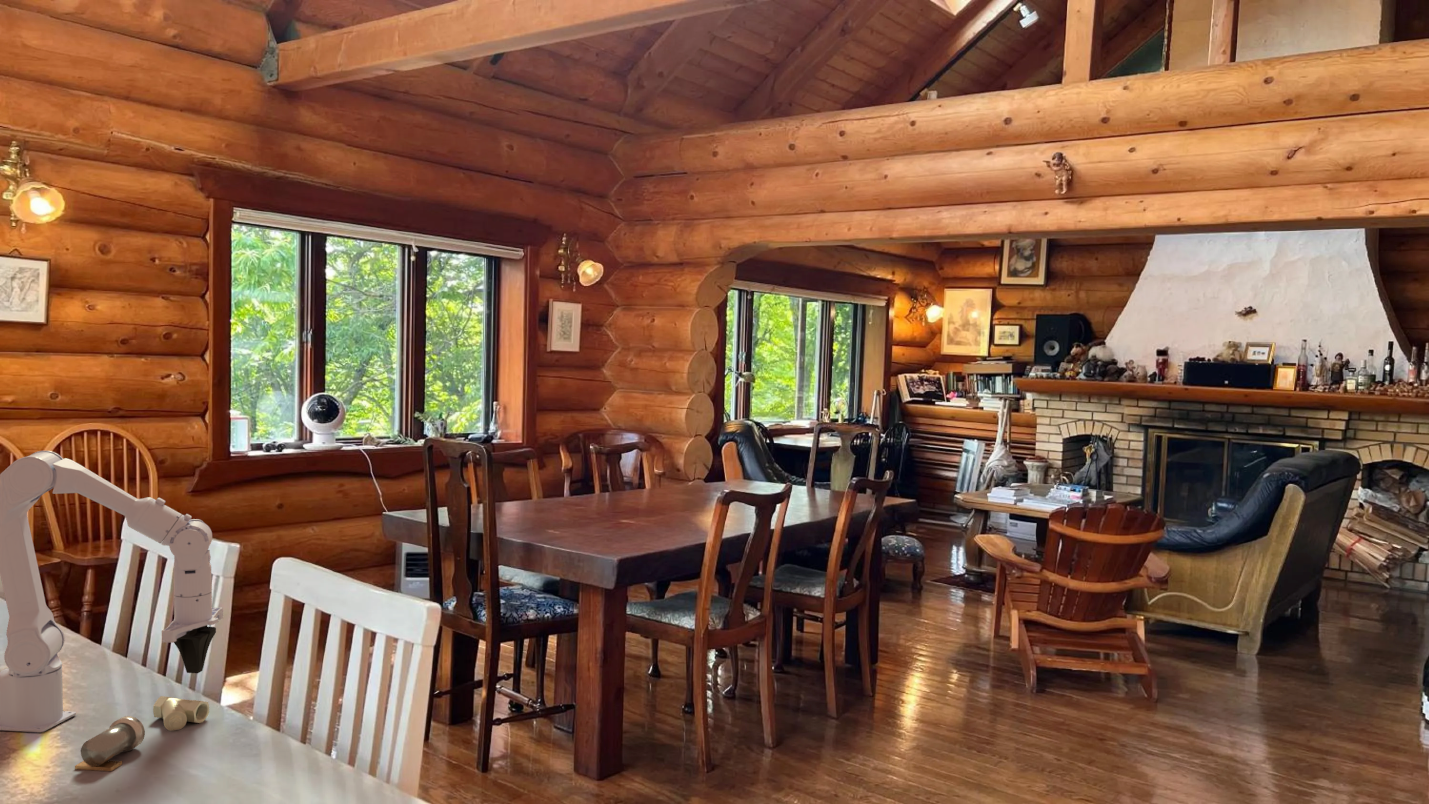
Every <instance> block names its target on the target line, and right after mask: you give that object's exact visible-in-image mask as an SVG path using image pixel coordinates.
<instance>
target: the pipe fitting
mask: <svg viewBox="0 0 1429 804" xmlns="http://www.w3.org/2000/svg"><path fill="white" fill-rule="evenodd" d="M152 707H153V709H152V712H153V713H152V714H153V716H154V718H159V719H162V720H163V725H164V728H165V729H166V730H167V731H169V732H170V731H171V732H172V731H176V730H181V729H183V728H184V727H185V726H186V724H187V722H189V723H197V724H198V723H199V724H202V723H203V722H205V720H207V719H208V717H209V713H210V704H209V701H204V700H199V699H198V700H197V699H196V700H195V699H184V698H175V697H171V696H166V695H165V696H164V695H160V696H159V697H158V698H157V699H156V701H155V702H154V704H153V706H152Z"/></svg>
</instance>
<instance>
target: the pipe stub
mask: <svg viewBox="0 0 1429 804" xmlns="http://www.w3.org/2000/svg"><path fill="white" fill-rule="evenodd" d="M145 730H146V729H145V727H144V724H143V723H142V721H141V720H139V719H138V718H136V717H134V716H131V715H127V716H126V715H125V716H122V717H120V718H118V719H117V720H115V721H113V722H112V723H111V724H110V726H109V728H107V729H106V730H104V731H102V732H101V733H98V734H97V735H95V736H92V738H90V739H87V741H85V742H83V744H82V746H81V747H80V755H81V758H82V760H83V761H81V762H79V763H77V764H76V765H74V770H82V771H85V770H86V771H101V772H102V771H104V772H113V771H114V770H116V769H117V768H118V767H121V766H123V761H122V760H111V759H113V758H114V757H116V756H118V755H119V754H121V753H122V752H129V751H132V750H133V749H135V748H137V747H138V746H140V745H141V744H142V743H143V742H144V739H145V736H146V735H145V734H146V731H145Z"/></svg>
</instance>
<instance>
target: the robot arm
mask: <svg viewBox="0 0 1429 804" xmlns="http://www.w3.org/2000/svg"><path fill="white" fill-rule="evenodd" d="M52 489H53V490H52ZM51 490H52V494H55V495H56V494H58V495H59V494H79V495H81V496H83V497H85V498H87V499H89V500H91V501H94V502H95V503H97V504H100V505H102V506H104V507H106V508H108V509H110V510H112V511H114V512H115V513H116V512H117V513H118V514H120V515H123V516H124V517H125V519H126V522H127V526H128V527H129V529H132V530H134V531H135V532H137V533H140V534H141V535H144V536H145V537H147V538H149V539H151V540H153V541H155V542H157V543H159V544H160V545H162V546H167V547H168V548H169V549H170V552H171V554H172V556H173V559H174V567H173V570H172V571H173V573H172V574H173V613H174V614H173V615H174V616H173V617H174V619H173V620H172V621H171V622H170V623H169V625H168V626H167V627H166V628H164V629H163V630H161V642H162V643H172V644H173V643H174V645H175V646H176V648H177V649H178V651H179V654H180V656H181V659H182V661H183V665H184V669H185V672H186V674H199V673H201V672H202V671H203V669H204V666H205V663H206V658H207V654H208V651H209V650H208V649H209V647H210V645H211V642H212V640H213V638H214V636H215V634H216V633H217V628H216V627H215V626H212V625H215V624H217V623H219V620H222V619H224V608H223V607H213V599H212V598H213V593H212V590H213V589H212V587H213V586H212V585H213V584H212V580H213V579H212V564H211V552H210V549H209V548H210V546H211V543H212V542H213V532H212V529H211V527H210V526H209V525H208V524H207V523H205V522H204V521H203V520H202V519H199V518H196V519H195V518H193V519H192V515H190V514H189V513H186V514H182V513H180V512H178V511H177V510H175V509H174V508H171V507H170V506H168V505H165V503H166V500H165V499H163V498H161V497H157V499H155V498H153V497H150V496H149V497H148V496H147V497H144V498H143V497H142V498H137V497H135V496H133V495H131V494H130V493H129V492H127V491H125V490H123V489H122V488H120V487H118V486H116V485H115V484H113V483H111V482H110V481H109V480H106V479H105V478H103V477H101V476H99V475H98V474H96V473H95V472H93V471H91V470H90V469H89V468H86V467H85V466H83V465H82V464H80V463H78V462H76V461H74V460H72V459H70V458H68V457H67V458H66V457H65V458H63V457H62V456H61V455H60V454H59V453H57V452H55V451H51V450H39V451H36V452H33V453H31V454H30V455H28V456H23V457H21V458H17V459H16V460H14V461H13V462H12V463H11V464H10V465H9V466H7V468H5V470H3V471H2V472H1V473H0V580H1V584H2V589H3V590H2V591H3V593H4V594H3V595H4V598H5V602H6V607H7V613H8V617H9V618H8V622H7V623H8V624H7V627H6V632H5V633H6V639H7V645H6V647H5V651H4V656H3V659H4V663H5V665H6V667H7V668H4V669H2V670H1V671H0V731H7V732H8V731H9V732H28V733H44V732H46V731H48V730H49V729H52V728H54V727H55V726H57V725H60V723H63V722H65V721H66V720H69V719H71V718H73V717H74V716H76V715H77V712H76V711H70V710H69V711H68V710H67V711H66V710H65V711H64V697H63V696H64V693H63V692H64V691H63V688H64V687H63V662H62V660H61V659H60V657H59V656H58V653H59V652H60V651H61V650H62V649H63V648H64V645H65V641H66V639H65V638H66V637H65V634H64V631H63V629H62V628H61V627H60V626H59V625H58V624H57V623H56V621H55V617H54V614H53V612H52V610H51V609H50V608H49V607H48V606H47V603H46V597H45V594H44V588H43V584H42V580H41V575H40V570H39V566H38V560H37V555H36V551H35V546H34V542H33V537H32V533H31V527H30V523H29V518H28V517H29V516H28V512H29V511H30V509H31V508H33V506H34V505H35V504H36V503H37V502H38V500H40V498H41V497H42V496H43V495H44V494H46V493H48V492H49V491H51Z"/></svg>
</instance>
